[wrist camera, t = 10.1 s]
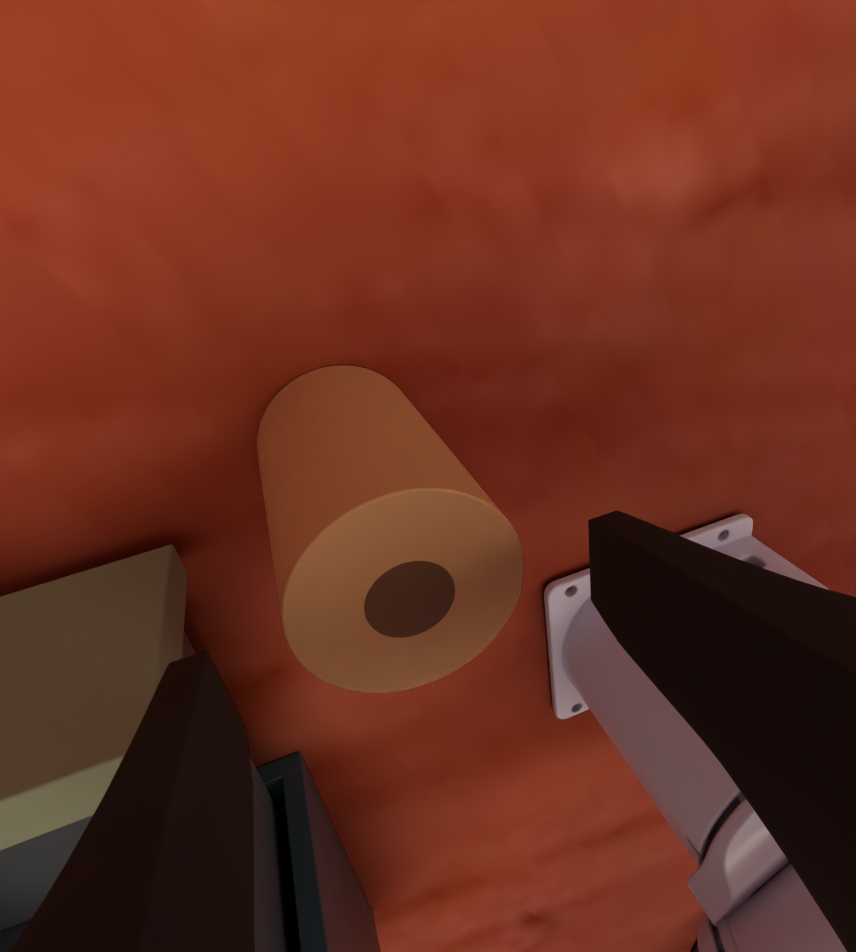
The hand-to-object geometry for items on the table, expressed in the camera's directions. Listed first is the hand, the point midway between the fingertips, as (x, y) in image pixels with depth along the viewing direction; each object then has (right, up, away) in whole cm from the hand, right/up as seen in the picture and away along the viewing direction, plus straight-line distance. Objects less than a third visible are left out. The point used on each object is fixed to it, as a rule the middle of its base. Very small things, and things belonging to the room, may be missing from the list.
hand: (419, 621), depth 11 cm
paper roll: (-2, +4, +7) cm, 8 cm away
